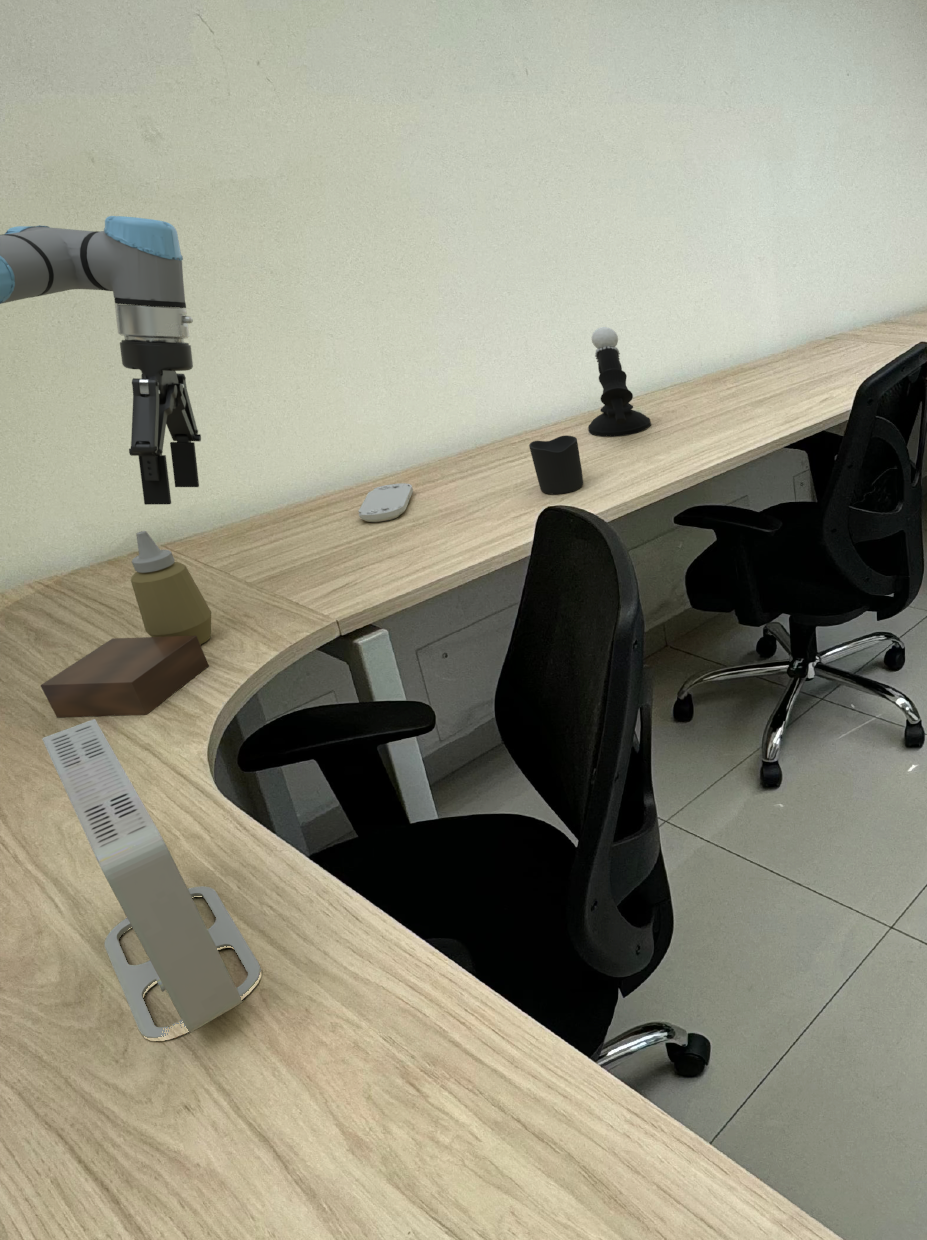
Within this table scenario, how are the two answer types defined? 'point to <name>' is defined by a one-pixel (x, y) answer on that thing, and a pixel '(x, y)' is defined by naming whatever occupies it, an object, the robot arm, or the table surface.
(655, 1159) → the table surface
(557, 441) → the pen holder
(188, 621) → the squeeze bottle
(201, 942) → the network device
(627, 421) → the sculpture
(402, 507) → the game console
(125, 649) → the riser
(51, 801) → the table surface
